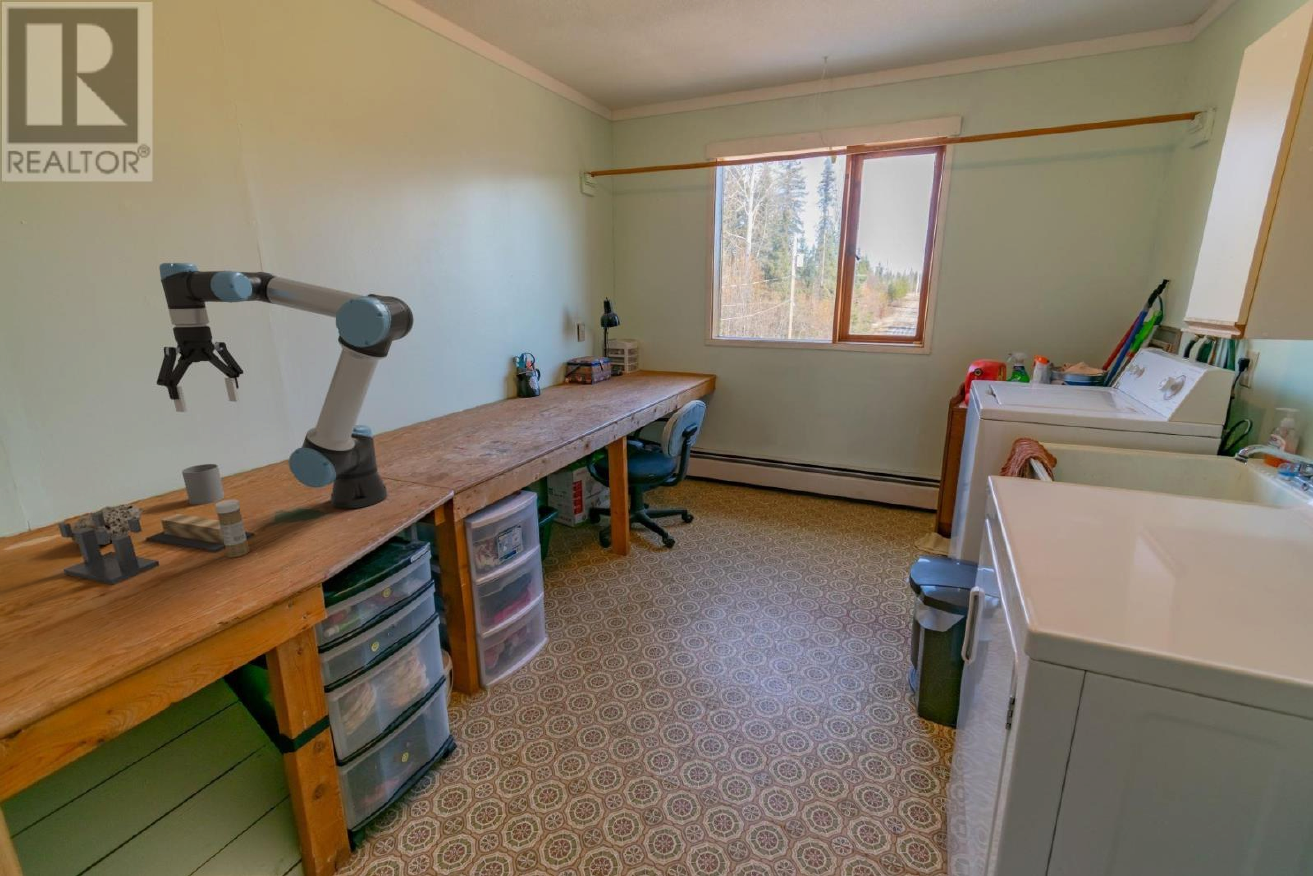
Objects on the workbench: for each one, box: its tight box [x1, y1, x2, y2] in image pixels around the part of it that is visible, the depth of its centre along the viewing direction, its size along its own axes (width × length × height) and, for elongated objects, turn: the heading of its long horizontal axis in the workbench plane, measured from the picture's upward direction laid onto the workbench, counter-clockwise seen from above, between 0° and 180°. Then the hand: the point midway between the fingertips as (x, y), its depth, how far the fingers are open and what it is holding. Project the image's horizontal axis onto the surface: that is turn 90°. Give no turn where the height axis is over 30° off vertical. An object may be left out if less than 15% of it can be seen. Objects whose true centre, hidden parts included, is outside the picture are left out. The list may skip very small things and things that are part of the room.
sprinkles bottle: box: [214, 499, 250, 558], centre depth 132 cm, size 5×5×13 cm
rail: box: [160, 513, 224, 544], centre depth 142 cm, size 20×4×4 cm, turn 74°
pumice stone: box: [69, 504, 143, 545], centre depth 141 cm, size 14×12×8 cm
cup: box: [181, 463, 225, 506], centre depth 167 cm, size 8×8×10 cm
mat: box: [145, 530, 256, 553], centre depth 143 cm, size 24×10×1 cm, turn 74°
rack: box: [57, 511, 160, 586], centre depth 125 cm, size 16×9×12 cm, turn 74°
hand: (209, 406), depth 148 cm, fingers open, 13 cm apart
